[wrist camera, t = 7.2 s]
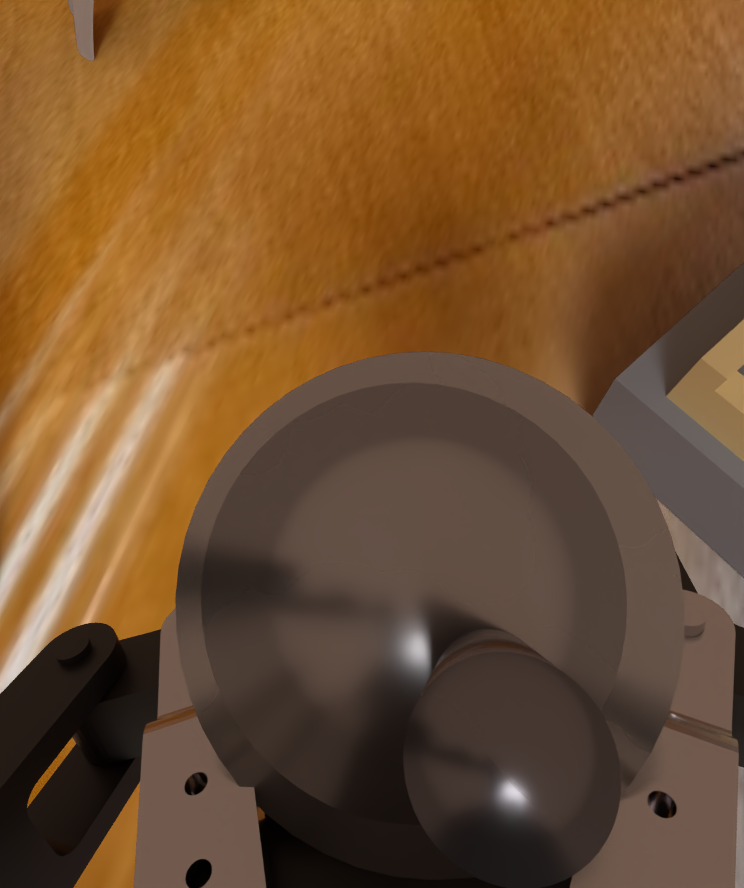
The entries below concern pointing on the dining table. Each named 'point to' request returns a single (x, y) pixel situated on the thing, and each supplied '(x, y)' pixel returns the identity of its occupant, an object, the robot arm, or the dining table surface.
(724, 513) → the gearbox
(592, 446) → the oil can
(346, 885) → the robot arm
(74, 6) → the faucet
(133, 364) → the dining table surface
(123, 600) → the dining table surface
